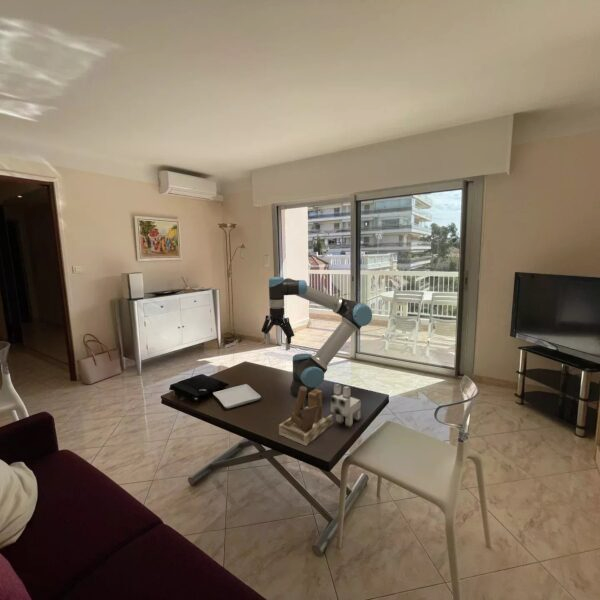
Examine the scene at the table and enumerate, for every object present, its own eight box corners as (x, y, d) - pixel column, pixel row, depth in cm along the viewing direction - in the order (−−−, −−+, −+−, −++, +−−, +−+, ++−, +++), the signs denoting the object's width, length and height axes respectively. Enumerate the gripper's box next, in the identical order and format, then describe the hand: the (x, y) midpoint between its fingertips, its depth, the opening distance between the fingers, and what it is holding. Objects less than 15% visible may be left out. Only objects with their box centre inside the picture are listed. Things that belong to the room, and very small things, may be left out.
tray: (307, 414, 162) (307, 406, 161) (332, 423, 153) (332, 415, 152) (279, 434, 144) (278, 425, 143) (305, 445, 135) (305, 436, 135)
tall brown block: (315, 415, 157) (315, 389, 155) (322, 418, 155) (322, 391, 153) (308, 420, 152) (308, 393, 151) (315, 423, 150) (315, 395, 148)
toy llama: (362, 416, 159) (363, 378, 156) (344, 431, 146) (344, 390, 143) (349, 412, 164) (350, 375, 161) (330, 426, 150) (330, 386, 148)
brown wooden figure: (306, 433, 142) (314, 400, 136) (290, 419, 148) (297, 387, 142) (311, 430, 144) (320, 398, 138) (295, 416, 151) (303, 384, 145)
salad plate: (225, 412, 165) (225, 406, 165) (212, 397, 183) (212, 391, 182) (262, 402, 177) (262, 396, 176) (246, 388, 194) (246, 383, 194)
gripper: (254, 306, 167) (255, 345, 170) (291, 310, 152) (292, 353, 155) (263, 304, 173) (264, 342, 176) (300, 308, 158) (301, 349, 161)
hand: (277, 347), depth 166 cm, fingers open, 13 cm apart
